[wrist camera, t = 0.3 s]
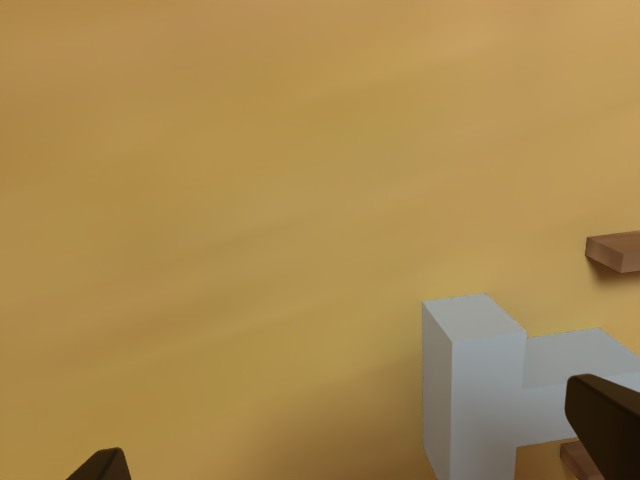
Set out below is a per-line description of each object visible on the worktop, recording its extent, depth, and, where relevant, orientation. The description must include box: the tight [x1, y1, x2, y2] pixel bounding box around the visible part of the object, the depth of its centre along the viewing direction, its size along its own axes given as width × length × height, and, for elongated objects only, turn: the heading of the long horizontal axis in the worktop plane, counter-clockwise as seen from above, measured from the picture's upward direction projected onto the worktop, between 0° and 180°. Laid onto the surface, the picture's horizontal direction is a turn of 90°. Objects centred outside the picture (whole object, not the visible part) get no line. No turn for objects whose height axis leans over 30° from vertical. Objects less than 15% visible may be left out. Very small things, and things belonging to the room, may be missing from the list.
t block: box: [422, 293, 640, 480], centre depth 24 cm, size 10×10×4 cm
